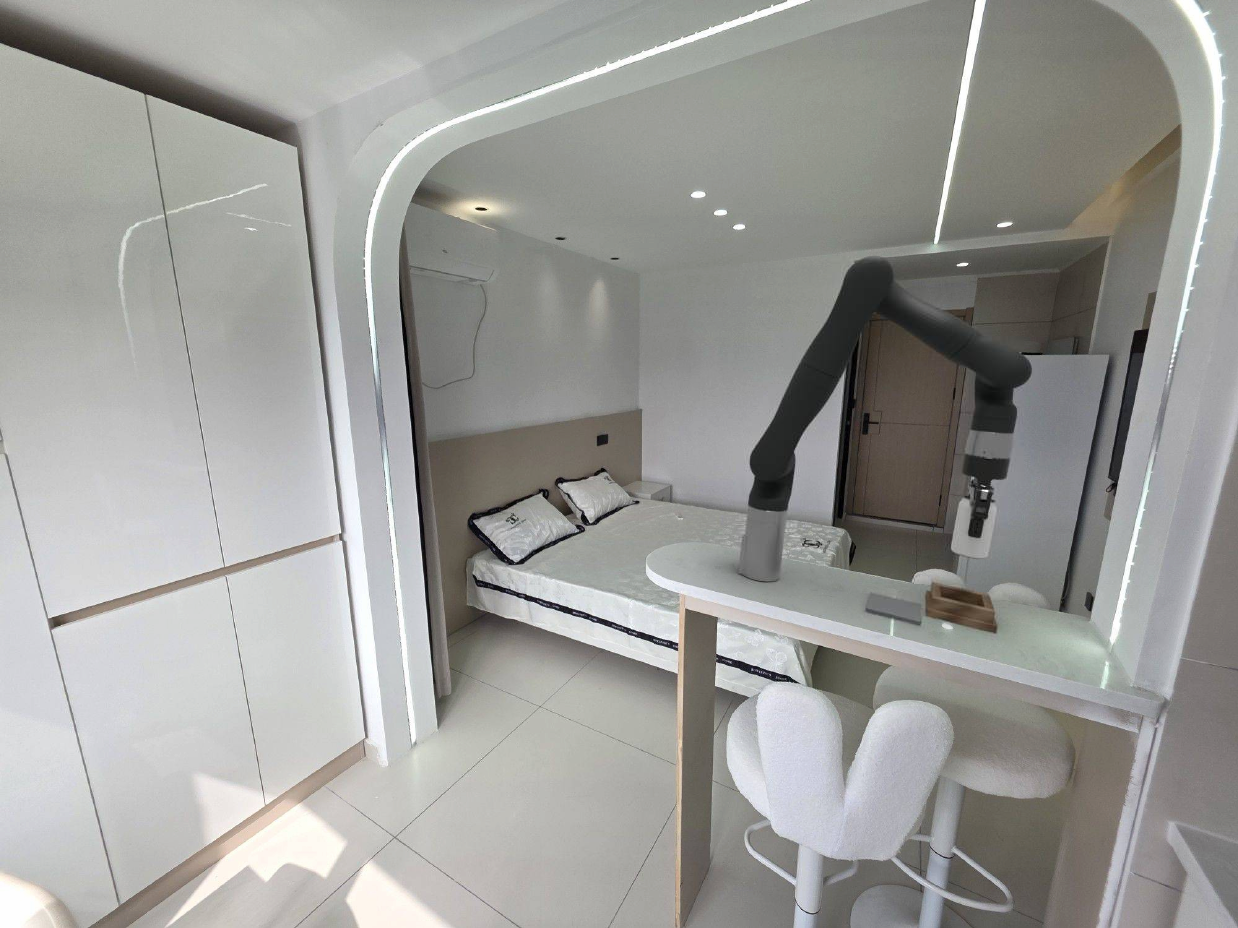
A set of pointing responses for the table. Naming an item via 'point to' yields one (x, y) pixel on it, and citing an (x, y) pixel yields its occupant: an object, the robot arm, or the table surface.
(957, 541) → the can
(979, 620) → the socket block
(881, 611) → the mat
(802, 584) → the table surface
